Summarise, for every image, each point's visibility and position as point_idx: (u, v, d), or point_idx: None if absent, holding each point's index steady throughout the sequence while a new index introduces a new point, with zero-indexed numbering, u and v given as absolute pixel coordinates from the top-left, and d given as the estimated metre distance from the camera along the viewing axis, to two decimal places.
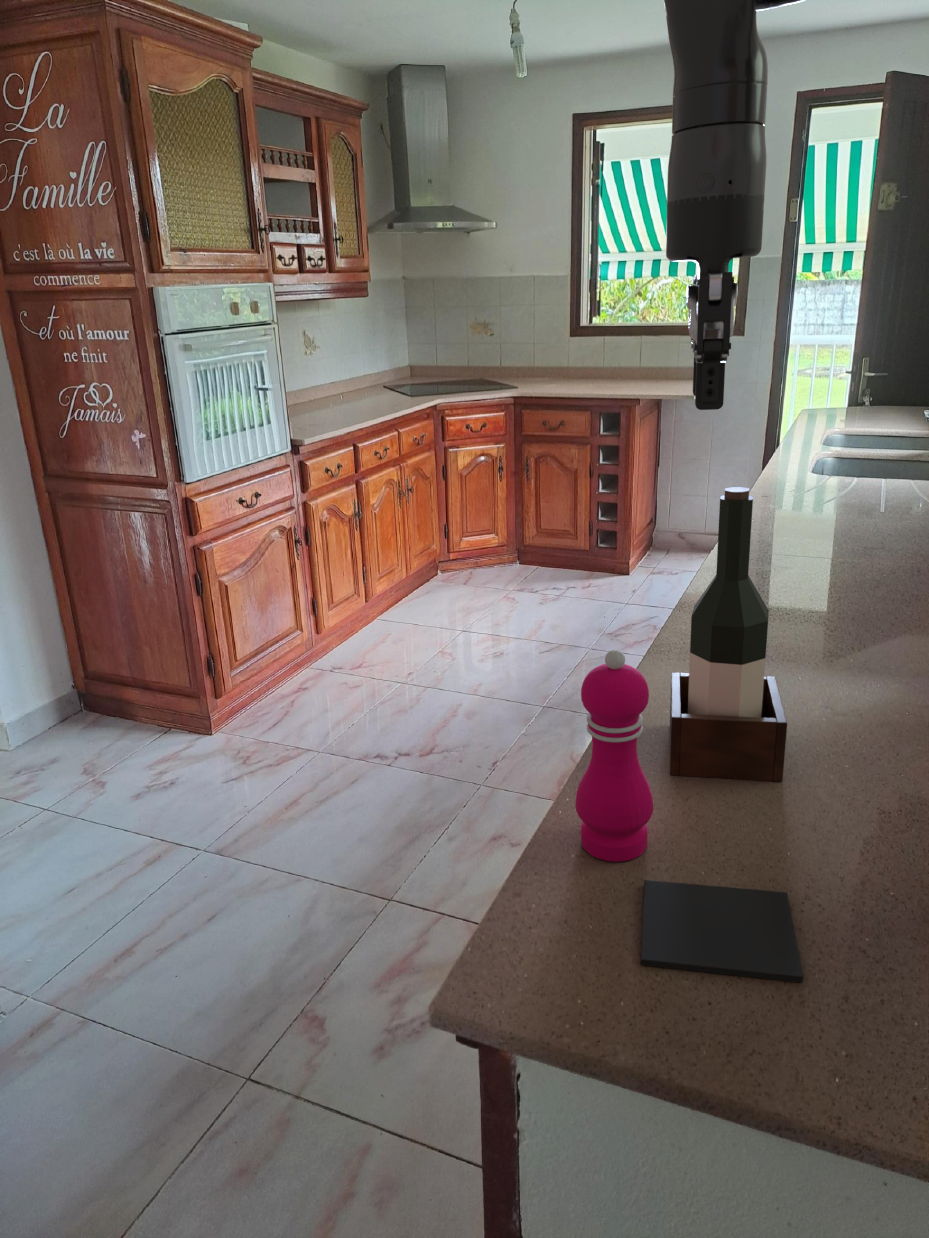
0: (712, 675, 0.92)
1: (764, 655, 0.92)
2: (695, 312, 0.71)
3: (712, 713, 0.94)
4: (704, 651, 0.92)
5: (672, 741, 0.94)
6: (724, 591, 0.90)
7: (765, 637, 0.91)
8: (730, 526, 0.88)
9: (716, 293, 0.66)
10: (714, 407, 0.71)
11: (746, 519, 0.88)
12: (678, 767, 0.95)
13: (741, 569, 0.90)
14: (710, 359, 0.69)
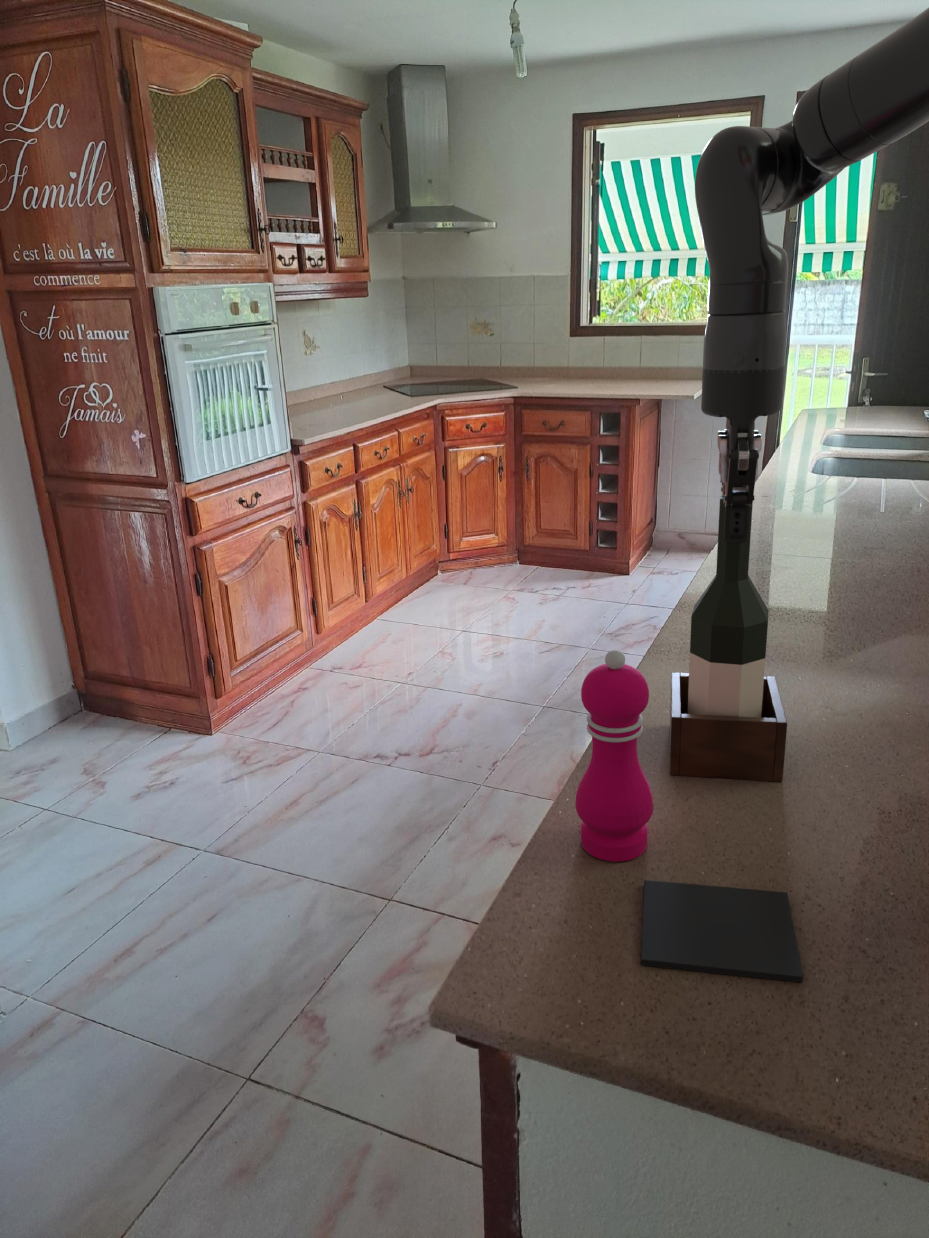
0: (712, 675, 0.92)
1: (764, 655, 0.92)
2: (725, 464, 0.86)
3: (712, 713, 0.94)
4: (704, 651, 0.92)
5: (672, 741, 0.94)
6: (723, 591, 0.90)
7: (765, 637, 0.91)
8: None
9: (744, 467, 0.82)
10: (740, 541, 0.88)
11: None
12: (678, 767, 0.95)
13: (741, 569, 0.90)
14: (736, 506, 0.86)
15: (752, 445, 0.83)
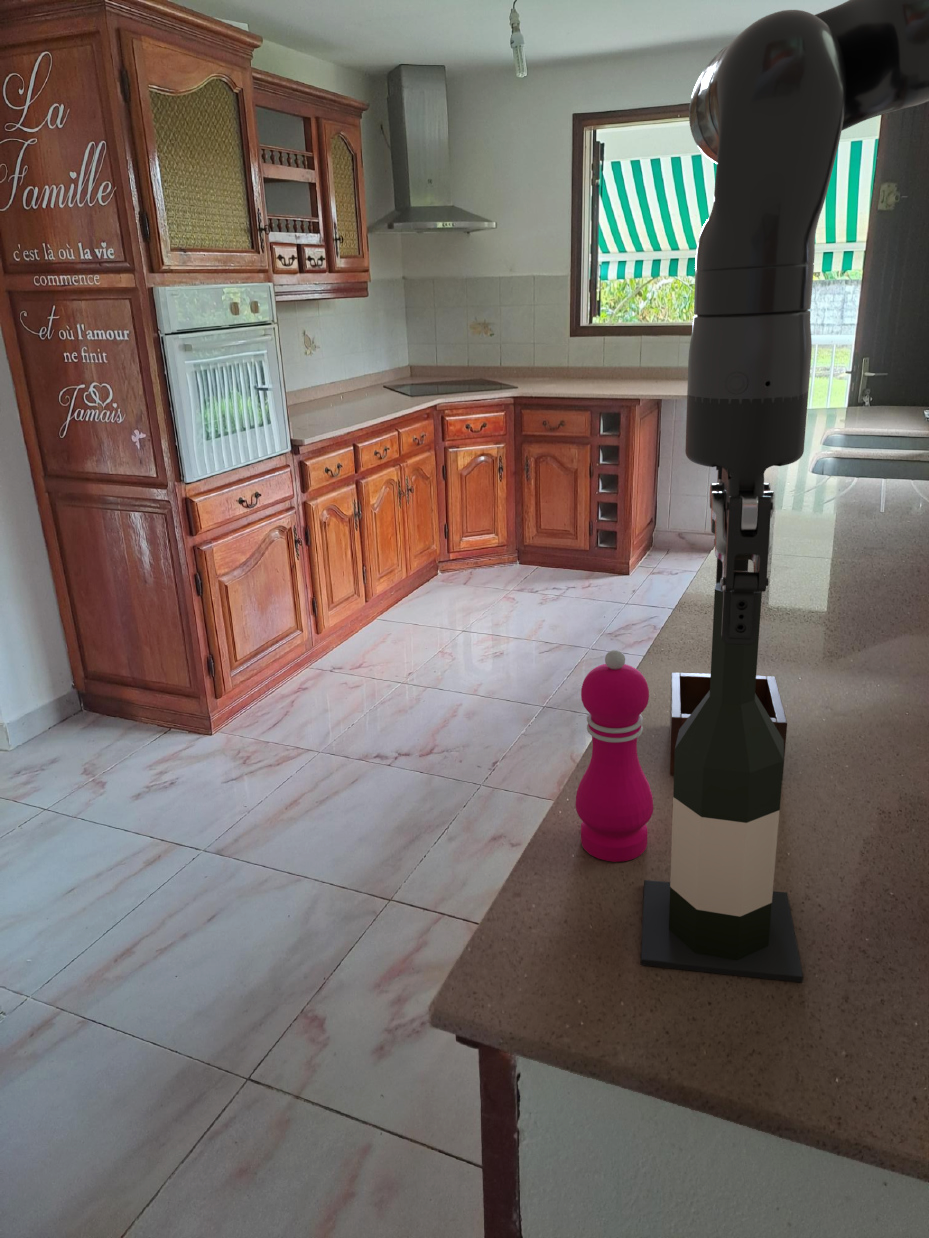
0: (704, 833, 0.65)
1: (778, 806, 0.65)
2: (722, 529, 0.57)
3: (704, 884, 0.67)
4: (693, 799, 0.65)
5: (672, 741, 0.94)
6: (720, 718, 0.63)
7: (779, 782, 0.64)
8: None
9: (750, 522, 0.53)
10: (746, 642, 0.58)
11: None
12: None
13: (745, 689, 0.63)
14: (741, 592, 0.56)
15: None
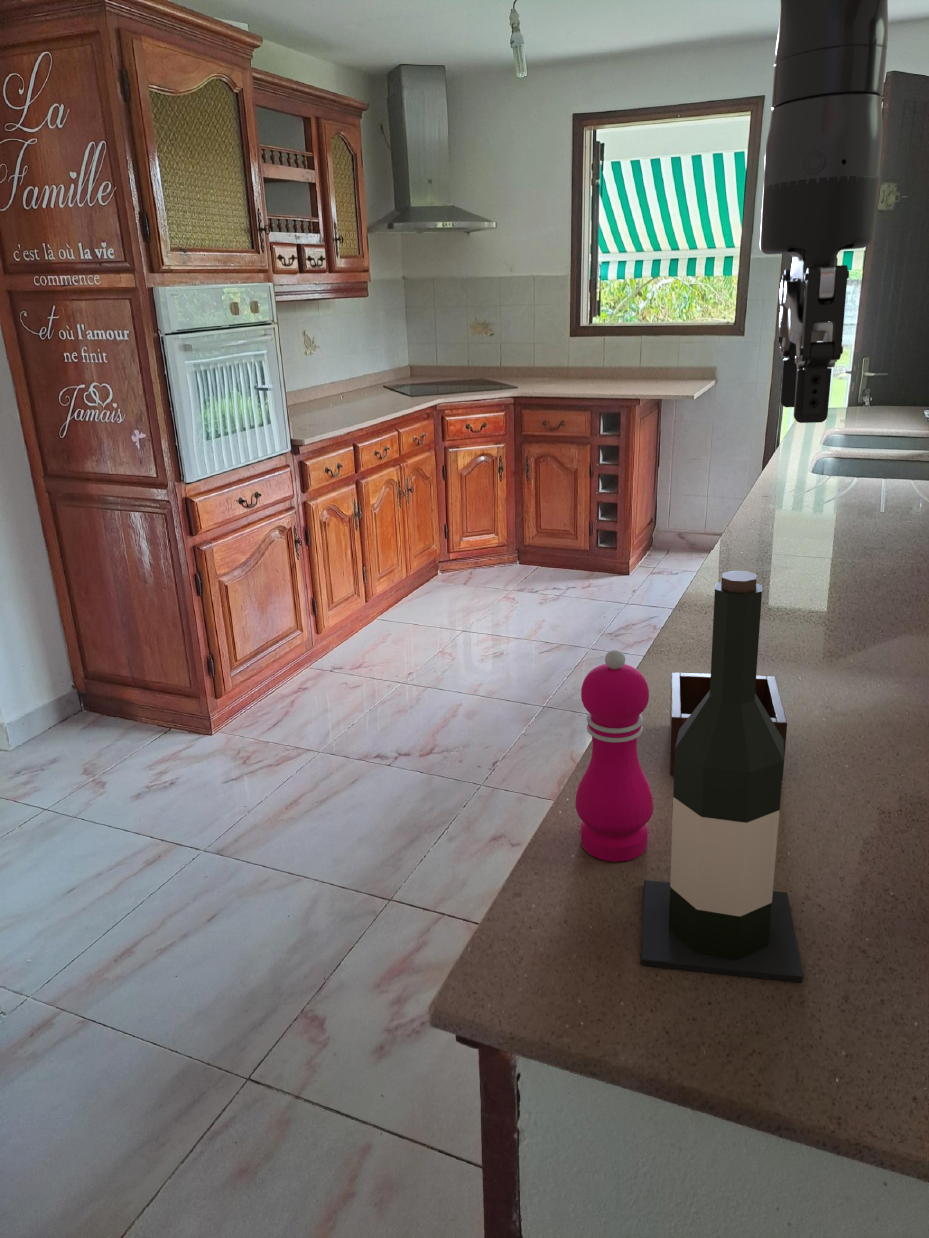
0: (704, 833, 0.65)
1: (778, 806, 0.65)
2: (796, 311, 0.62)
3: (704, 884, 0.67)
4: (693, 799, 0.65)
5: (672, 741, 0.94)
6: (721, 718, 0.63)
7: (779, 782, 0.64)
8: (729, 629, 0.61)
9: (828, 289, 0.58)
10: (817, 420, 0.63)
11: (753, 619, 0.61)
12: None
13: (745, 689, 0.63)
14: (815, 366, 0.61)
15: None
